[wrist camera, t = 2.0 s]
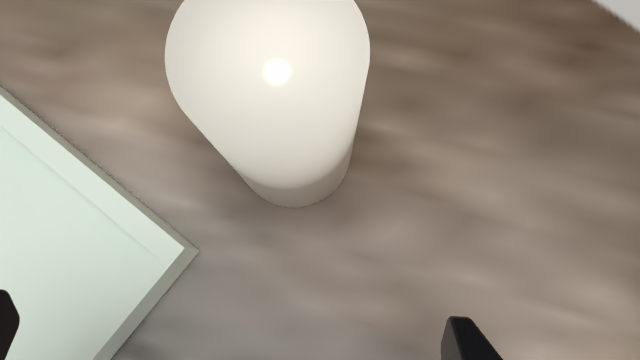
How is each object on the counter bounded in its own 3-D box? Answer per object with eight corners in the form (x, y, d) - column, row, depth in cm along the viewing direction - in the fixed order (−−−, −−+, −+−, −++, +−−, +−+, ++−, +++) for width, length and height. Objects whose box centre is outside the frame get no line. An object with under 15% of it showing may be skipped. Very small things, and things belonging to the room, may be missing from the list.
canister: (373, 142, 24) (410, 33, 13) (303, 230, 23) (282, 193, 12) (286, 77, 25) (253, -77, 14) (215, 161, 24) (122, 67, 13)
